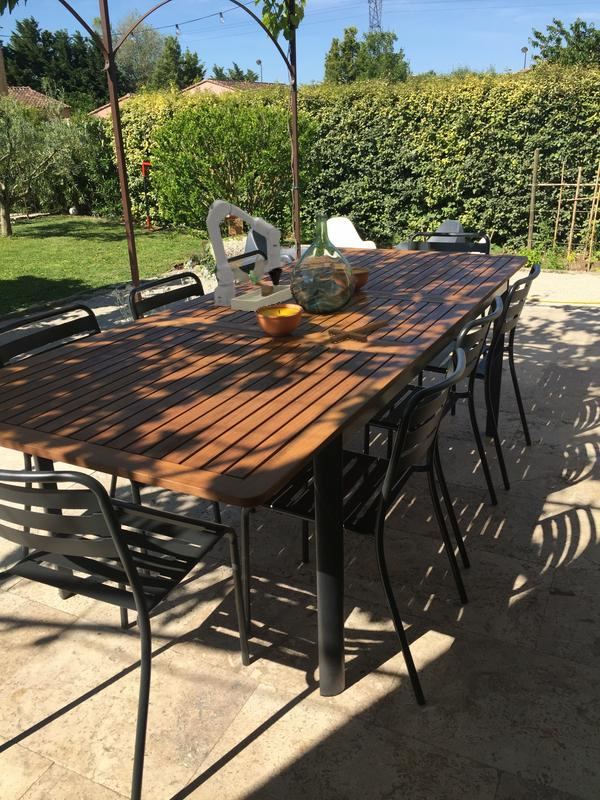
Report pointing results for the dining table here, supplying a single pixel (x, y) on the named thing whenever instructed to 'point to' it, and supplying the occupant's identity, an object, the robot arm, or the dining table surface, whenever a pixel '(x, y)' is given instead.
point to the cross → (356, 332)
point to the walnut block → (267, 290)
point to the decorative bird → (251, 272)
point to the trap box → (260, 299)
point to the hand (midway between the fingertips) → (275, 285)
